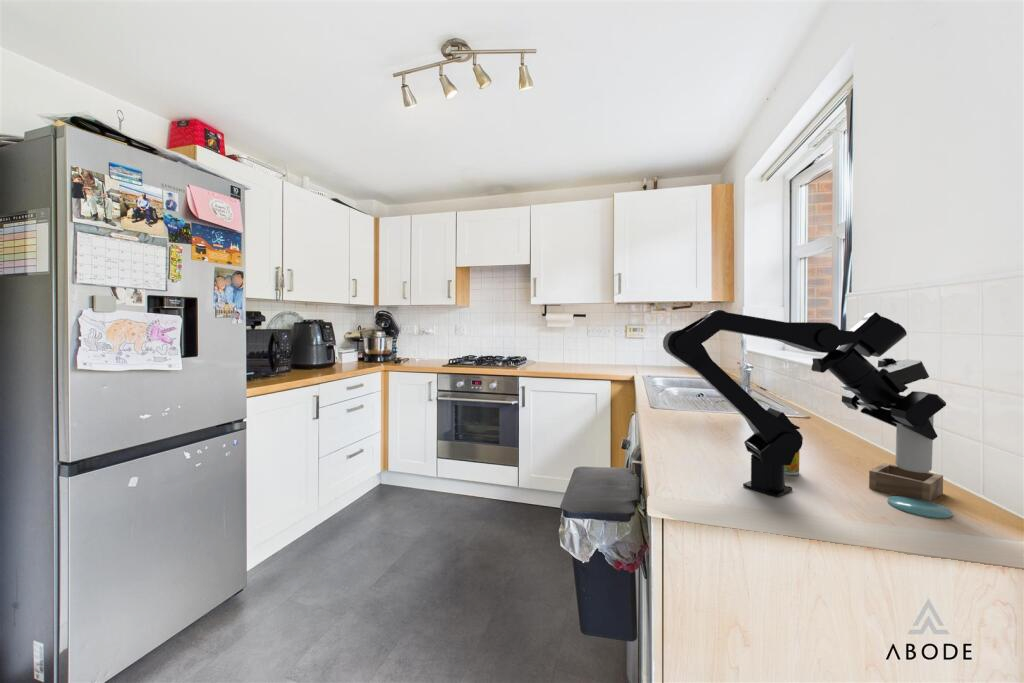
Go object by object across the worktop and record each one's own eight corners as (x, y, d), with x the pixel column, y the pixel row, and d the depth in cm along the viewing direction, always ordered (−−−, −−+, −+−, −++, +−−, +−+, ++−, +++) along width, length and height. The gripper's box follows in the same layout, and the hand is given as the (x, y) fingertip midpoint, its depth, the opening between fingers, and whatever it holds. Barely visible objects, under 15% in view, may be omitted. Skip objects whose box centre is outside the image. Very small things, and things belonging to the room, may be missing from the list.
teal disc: (945, 522, 65) (945, 519, 65) (880, 505, 72) (881, 502, 72) (957, 511, 69) (957, 508, 69) (895, 495, 76) (895, 492, 76)
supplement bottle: (773, 473, 88) (773, 430, 88) (767, 466, 93) (768, 425, 93) (802, 477, 86) (803, 432, 86) (795, 469, 91) (795, 427, 91)
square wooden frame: (929, 503, 72) (930, 484, 72) (869, 487, 80) (869, 470, 80) (942, 493, 77) (943, 475, 77) (884, 479, 84) (884, 463, 84)
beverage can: (938, 475, 71) (940, 408, 71) (903, 471, 73) (905, 406, 73) (921, 466, 76) (924, 404, 75) (889, 463, 77) (891, 402, 77)
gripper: (934, 346, 65) (1014, 416, 63) (860, 343, 84) (920, 397, 82) (877, 391, 67) (953, 461, 65) (816, 379, 85) (874, 433, 83)
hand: (923, 434), depth 74 cm, fingers closed on beverage can, 5 cm apart
